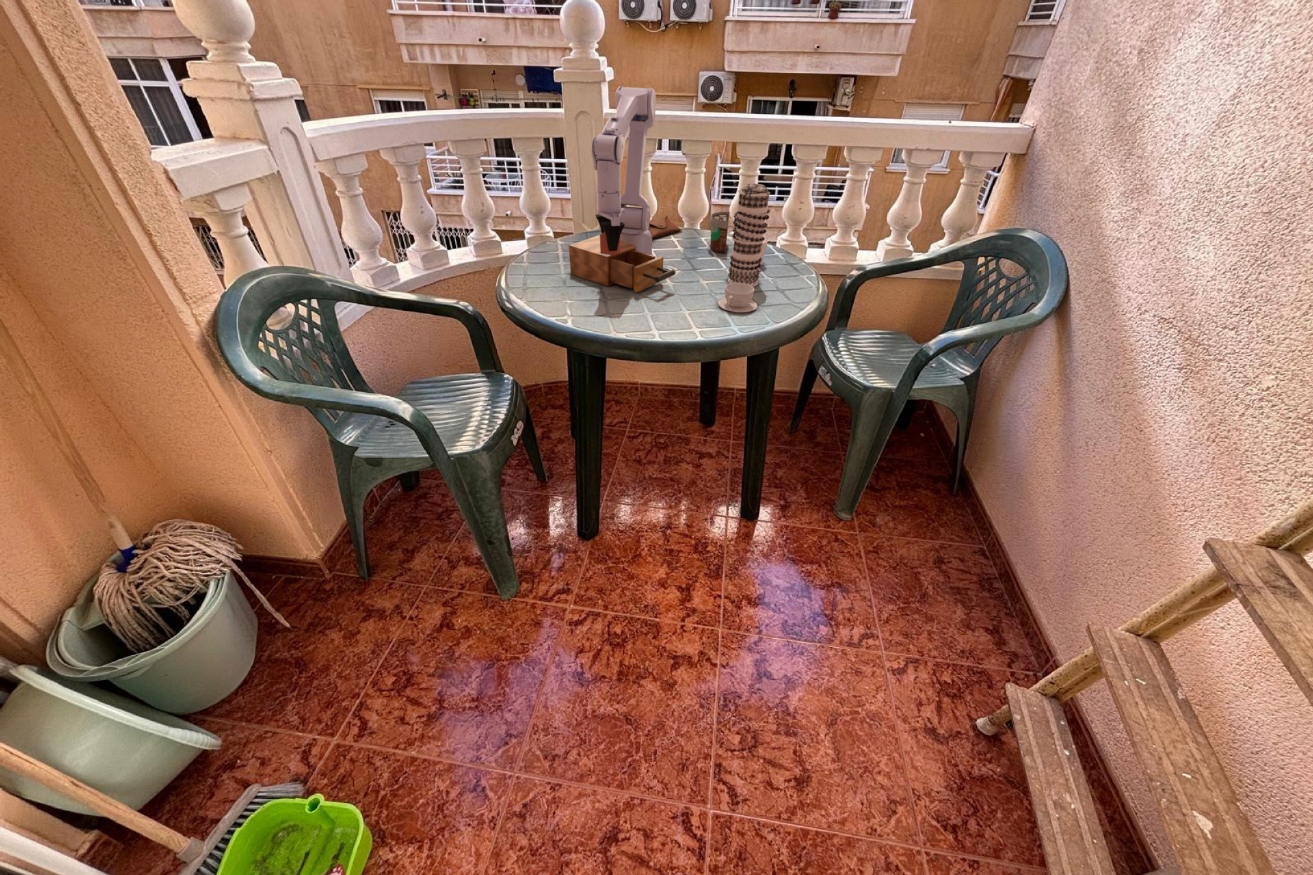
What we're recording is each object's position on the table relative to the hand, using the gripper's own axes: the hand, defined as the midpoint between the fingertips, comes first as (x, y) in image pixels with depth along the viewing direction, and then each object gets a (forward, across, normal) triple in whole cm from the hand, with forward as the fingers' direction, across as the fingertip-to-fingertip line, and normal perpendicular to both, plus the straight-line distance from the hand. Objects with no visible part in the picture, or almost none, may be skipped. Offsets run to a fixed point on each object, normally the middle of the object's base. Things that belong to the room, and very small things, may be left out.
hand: (610, 247), depth 138 cm
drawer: (+10, -2, -7) cm, 12 cm away
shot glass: (+11, +8, -46) cm, 48 cm away
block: (+1, 0, 0) cm, 1 cm away
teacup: (+11, -20, -28) cm, 37 cm away
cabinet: (+10, +9, 0) cm, 14 cm away
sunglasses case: (+11, +43, -26) cm, 51 cm away
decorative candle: (+11, -5, -37) cm, 39 cm away
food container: (+11, +24, -40) cm, 48 cm away
